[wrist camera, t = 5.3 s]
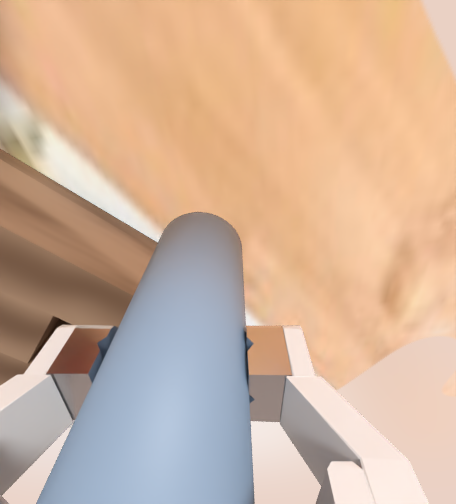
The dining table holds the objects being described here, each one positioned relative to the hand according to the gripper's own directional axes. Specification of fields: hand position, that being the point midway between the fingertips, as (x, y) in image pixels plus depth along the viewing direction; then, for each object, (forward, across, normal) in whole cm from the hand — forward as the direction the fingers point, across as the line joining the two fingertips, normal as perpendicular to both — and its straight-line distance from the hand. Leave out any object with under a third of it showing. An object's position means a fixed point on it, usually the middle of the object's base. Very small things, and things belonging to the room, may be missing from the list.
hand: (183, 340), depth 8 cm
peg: (+5, 0, 0) cm, 5 cm away
